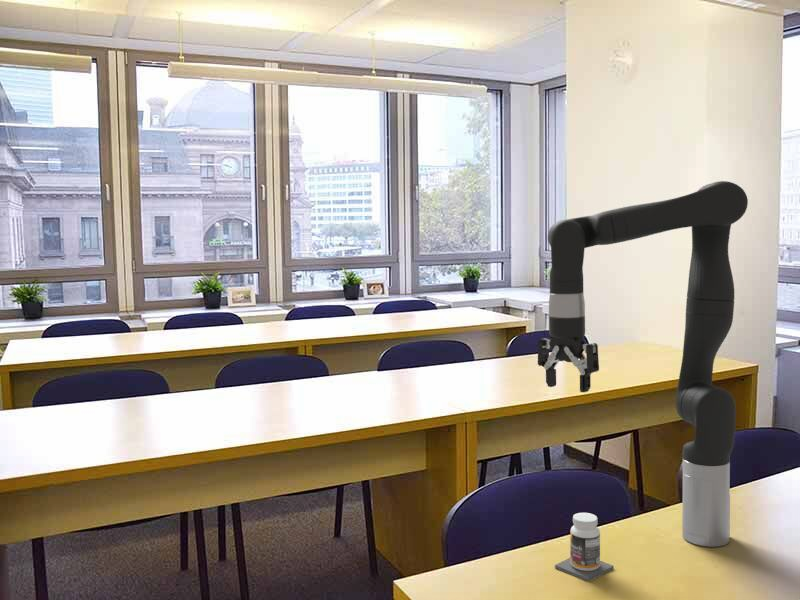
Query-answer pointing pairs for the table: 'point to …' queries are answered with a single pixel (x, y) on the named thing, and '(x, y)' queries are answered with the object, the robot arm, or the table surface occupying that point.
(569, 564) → the coaster
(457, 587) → the table surface
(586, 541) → the pill bottle
